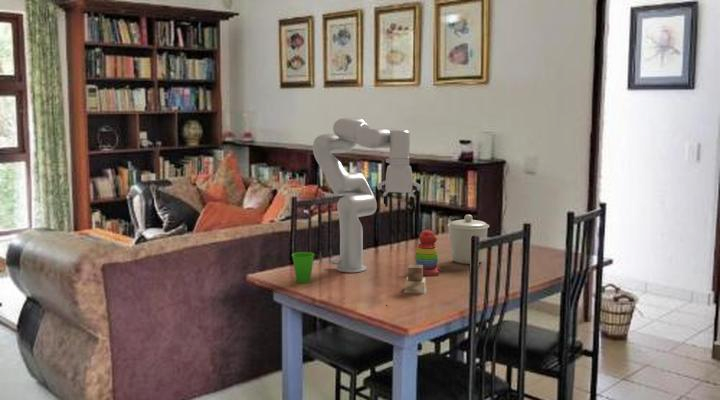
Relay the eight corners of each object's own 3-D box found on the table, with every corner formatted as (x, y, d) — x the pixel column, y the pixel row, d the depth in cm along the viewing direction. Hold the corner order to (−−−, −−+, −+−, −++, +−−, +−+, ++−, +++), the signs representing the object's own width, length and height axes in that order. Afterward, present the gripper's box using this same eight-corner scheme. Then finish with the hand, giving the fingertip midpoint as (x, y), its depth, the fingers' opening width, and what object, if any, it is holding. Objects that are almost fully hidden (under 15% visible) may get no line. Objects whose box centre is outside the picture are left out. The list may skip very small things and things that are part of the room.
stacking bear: (438, 276, 286) (439, 232, 283) (413, 275, 288) (414, 232, 285) (440, 269, 296) (441, 228, 294) (416, 268, 298) (417, 227, 296)
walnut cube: (407, 280, 257) (408, 267, 257) (409, 277, 262) (409, 264, 262) (421, 281, 257) (421, 268, 256) (422, 278, 261) (423, 264, 261)
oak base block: (404, 292, 257) (405, 281, 257) (406, 287, 264) (406, 276, 263) (424, 293, 256) (424, 282, 255) (425, 288, 263) (425, 277, 262)
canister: (460, 268, 299) (461, 219, 296) (439, 259, 316) (440, 213, 313) (496, 264, 306) (497, 216, 303) (473, 255, 323) (474, 210, 320)
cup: (297, 285, 271) (296, 257, 270) (288, 280, 279) (288, 253, 278) (318, 283, 276) (318, 255, 274) (309, 277, 284) (309, 251, 282)
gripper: (375, 162, 267) (375, 207, 270) (421, 163, 264) (420, 208, 267) (378, 161, 274) (378, 204, 277) (422, 161, 271) (422, 205, 274)
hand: (398, 206), depth 272 cm, fingers open, 9 cm apart
